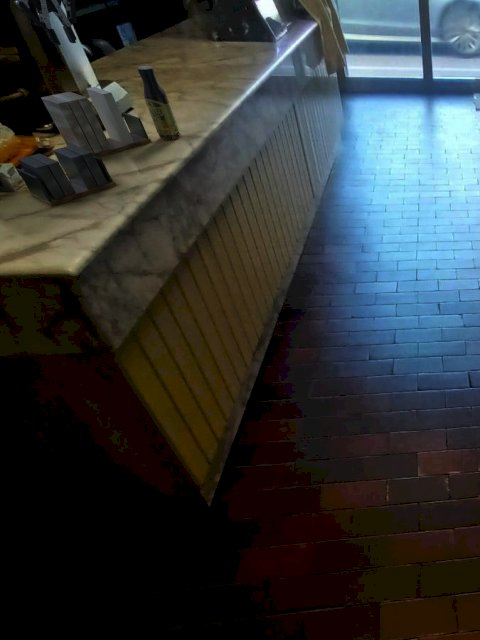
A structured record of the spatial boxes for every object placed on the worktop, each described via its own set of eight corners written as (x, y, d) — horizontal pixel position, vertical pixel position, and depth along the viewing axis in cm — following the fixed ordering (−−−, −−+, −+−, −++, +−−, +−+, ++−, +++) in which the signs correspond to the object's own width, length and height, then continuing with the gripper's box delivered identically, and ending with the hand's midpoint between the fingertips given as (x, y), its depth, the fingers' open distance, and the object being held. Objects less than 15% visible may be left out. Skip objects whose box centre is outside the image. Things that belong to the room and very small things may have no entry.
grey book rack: (52, 206, 128) (30, 170, 122) (31, 196, 132) (9, 160, 126) (116, 185, 138) (99, 151, 132) (95, 176, 142) (78, 142, 136)
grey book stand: (85, 161, 149) (55, 104, 138) (67, 153, 152) (36, 97, 142) (151, 142, 161) (128, 89, 151) (133, 135, 165) (109, 83, 155)
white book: (126, 144, 156) (103, 94, 147) (109, 138, 160) (85, 88, 150) (134, 142, 158) (111, 92, 148) (117, 136, 161) (94, 86, 151)
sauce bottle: (155, 139, 163) (125, 68, 149) (170, 133, 168) (142, 63, 154) (172, 142, 162) (143, 70, 148) (187, 136, 166) (160, 66, 153)
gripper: (50, -40, 134) (85, 38, 146) (-13, -38, 125) (29, 45, 137) (65, -37, 132) (99, 42, 144) (2, -34, 123) (44, 50, 135)
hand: (65, 43), depth 140 cm, fingers open, 3 cm apart
